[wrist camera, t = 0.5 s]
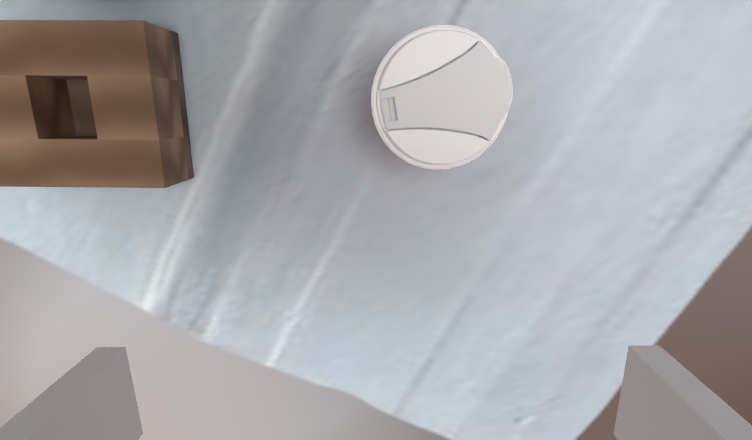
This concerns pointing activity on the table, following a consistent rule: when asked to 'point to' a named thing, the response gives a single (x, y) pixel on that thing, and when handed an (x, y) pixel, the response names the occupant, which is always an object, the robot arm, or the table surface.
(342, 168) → the table surface
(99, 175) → the bore block
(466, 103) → the paper cup
